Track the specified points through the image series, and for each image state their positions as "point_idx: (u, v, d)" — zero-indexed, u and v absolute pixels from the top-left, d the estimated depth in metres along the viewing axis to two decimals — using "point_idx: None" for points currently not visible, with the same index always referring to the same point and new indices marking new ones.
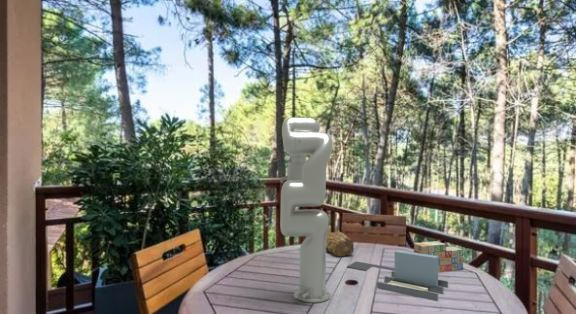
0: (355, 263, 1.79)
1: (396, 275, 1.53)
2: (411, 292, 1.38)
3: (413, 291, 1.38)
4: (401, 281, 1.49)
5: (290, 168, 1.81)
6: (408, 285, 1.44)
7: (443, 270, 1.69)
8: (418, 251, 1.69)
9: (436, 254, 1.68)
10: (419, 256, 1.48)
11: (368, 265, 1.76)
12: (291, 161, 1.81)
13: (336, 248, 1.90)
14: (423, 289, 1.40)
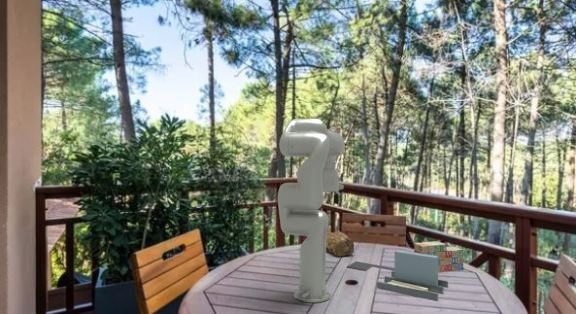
0: (355, 263, 1.79)
1: (396, 275, 1.53)
2: (411, 292, 1.38)
3: (413, 291, 1.38)
4: (401, 281, 1.49)
5: (322, 174, 1.70)
6: (408, 285, 1.44)
7: (443, 270, 1.69)
8: (418, 251, 1.69)
9: (436, 254, 1.68)
10: (419, 256, 1.48)
11: (368, 265, 1.76)
12: (322, 167, 1.71)
13: (336, 248, 1.90)
14: (423, 289, 1.40)
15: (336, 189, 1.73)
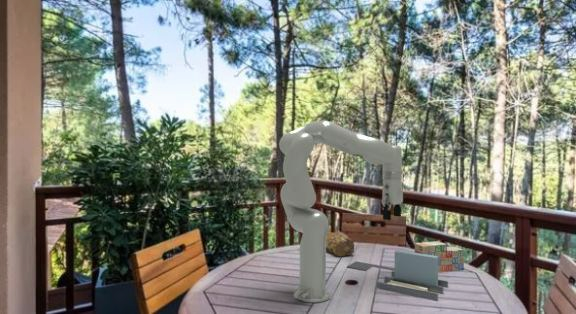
0: (355, 263, 1.79)
1: (396, 275, 1.53)
2: (411, 292, 1.38)
3: (413, 291, 1.38)
4: (401, 281, 1.49)
5: (394, 185, 1.51)
6: (408, 285, 1.44)
7: (444, 270, 1.69)
8: (419, 251, 1.69)
9: (437, 254, 1.68)
10: (419, 256, 1.48)
11: (368, 265, 1.76)
12: (393, 177, 1.52)
13: (337, 248, 1.90)
14: (422, 289, 1.40)
15: (402, 200, 1.57)
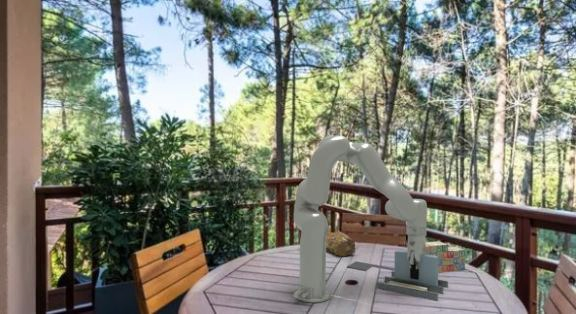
0: (355, 263, 1.79)
1: (396, 275, 1.53)
2: (411, 292, 1.38)
3: (413, 291, 1.38)
4: (401, 281, 1.49)
5: (419, 242, 1.45)
6: (407, 285, 1.44)
7: (445, 270, 1.69)
8: None
9: (438, 254, 1.68)
10: None
11: (368, 265, 1.76)
12: (418, 233, 1.46)
13: (338, 248, 1.90)
14: (423, 289, 1.40)
15: None
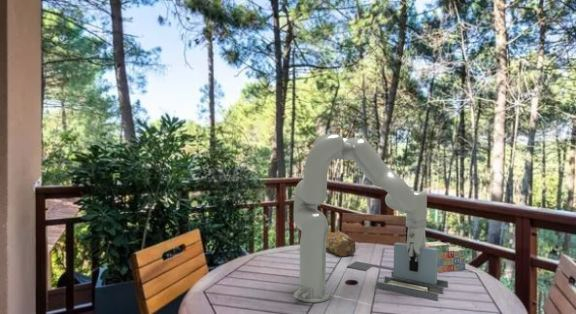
0: (355, 263, 1.79)
1: (395, 267, 1.53)
2: (411, 292, 1.38)
3: (413, 291, 1.38)
4: (401, 281, 1.49)
5: (419, 234, 1.45)
6: (408, 285, 1.44)
7: (445, 270, 1.69)
8: None
9: (439, 254, 1.68)
10: None
11: (368, 265, 1.76)
12: (418, 225, 1.46)
13: (338, 248, 1.90)
14: (423, 289, 1.40)
15: None
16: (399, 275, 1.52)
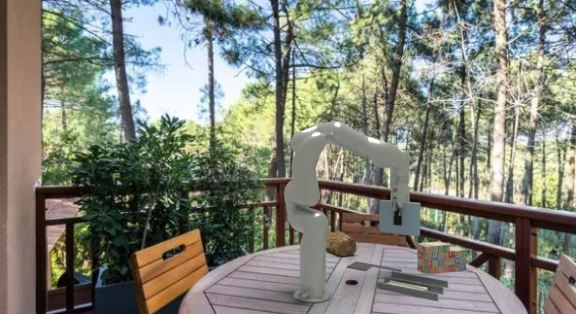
0: (355, 263, 1.79)
1: (381, 223, 1.61)
2: (411, 292, 1.38)
3: (413, 291, 1.38)
4: (401, 281, 1.49)
5: (402, 189, 1.53)
6: (408, 285, 1.45)
7: (446, 270, 1.69)
8: (422, 252, 1.68)
9: (440, 254, 1.67)
10: None
11: (368, 265, 1.76)
12: (401, 181, 1.54)
13: (339, 248, 1.91)
14: (423, 289, 1.41)
15: None
16: (384, 230, 1.60)
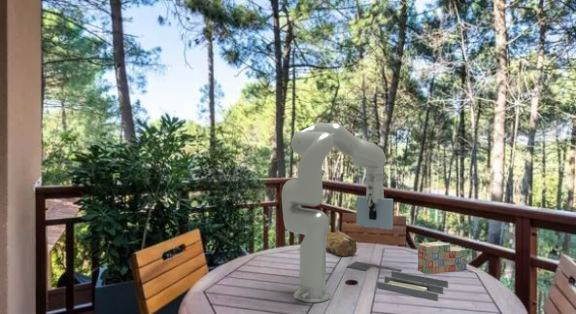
0: (355, 263, 1.79)
1: (358, 217, 1.75)
2: (411, 292, 1.38)
3: (413, 291, 1.38)
4: (401, 281, 1.49)
5: (376, 186, 1.67)
6: (407, 285, 1.44)
7: (447, 270, 1.69)
8: (422, 252, 1.68)
9: (440, 254, 1.67)
10: None
11: (368, 265, 1.76)
12: (375, 179, 1.68)
13: (340, 248, 1.91)
14: (423, 289, 1.41)
15: None
16: (361, 224, 1.74)
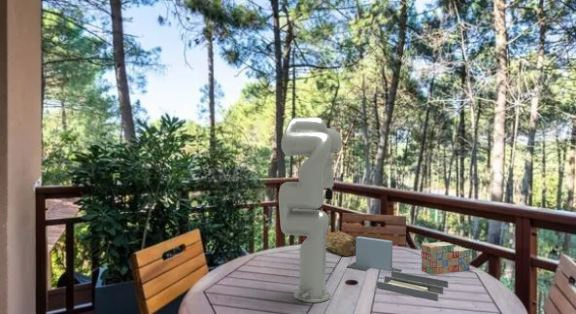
0: (355, 263, 1.79)
1: (357, 258, 1.75)
2: (411, 292, 1.38)
3: (413, 291, 1.38)
4: (401, 281, 1.49)
5: (324, 171, 1.72)
6: (408, 285, 1.45)
7: (451, 271, 1.68)
8: (426, 252, 1.67)
9: (444, 255, 1.67)
10: (376, 241, 1.70)
11: None
12: None
13: (343, 248, 1.91)
14: (423, 289, 1.40)
15: (332, 185, 1.77)
16: (360, 265, 1.74)
